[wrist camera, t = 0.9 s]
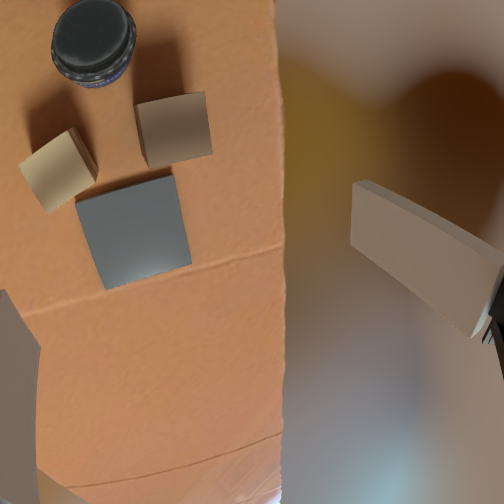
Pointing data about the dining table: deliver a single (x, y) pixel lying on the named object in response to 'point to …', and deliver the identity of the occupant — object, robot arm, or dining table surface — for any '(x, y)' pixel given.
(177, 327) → the dining table surface
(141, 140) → the walnut block
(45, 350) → the dining table surface
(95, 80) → the pill bottle
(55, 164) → the oak block
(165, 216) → the slate coaster
